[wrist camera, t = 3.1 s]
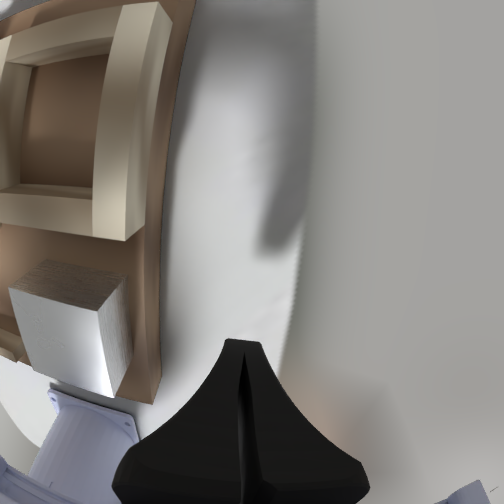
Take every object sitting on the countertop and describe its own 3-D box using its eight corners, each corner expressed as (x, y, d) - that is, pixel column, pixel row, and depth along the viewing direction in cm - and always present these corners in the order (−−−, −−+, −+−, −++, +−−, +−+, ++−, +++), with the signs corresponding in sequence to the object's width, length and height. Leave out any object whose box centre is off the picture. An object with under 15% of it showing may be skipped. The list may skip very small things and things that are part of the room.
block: (133, 355, 13) (113, 398, 10) (60, 335, 13) (33, 370, 10) (127, 274, 11) (97, 311, 9) (45, 259, 11) (8, 287, 8)
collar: (144, 224, 11) (124, 241, 9) (5, 208, 10) (-21, 219, 8) (172, 22, 8) (158, 1, 6) (21, 48, 7) (-5, 41, 6)
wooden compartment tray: (161, 376, 17) (146, 424, 13) (-12, 321, 16) (-39, 347, 12) (196, 0, 9) (179, -43, 6) (-19, 48, 8) (-57, 43, 5)
